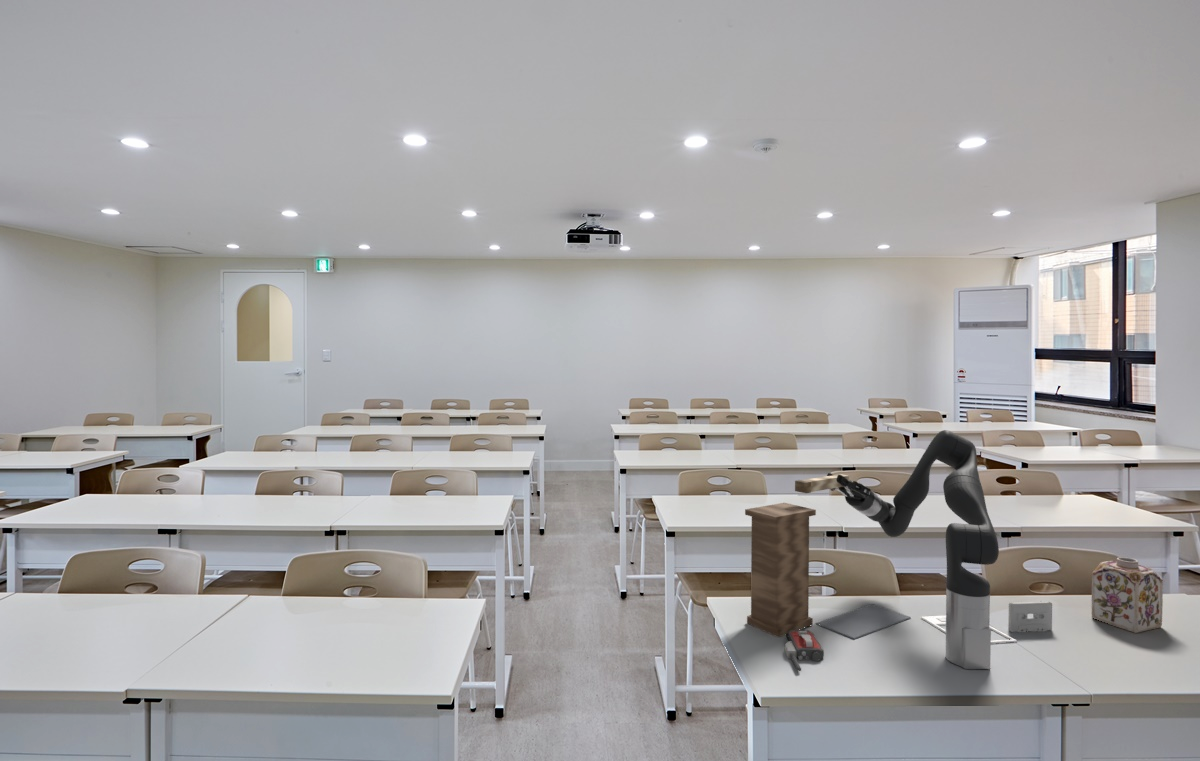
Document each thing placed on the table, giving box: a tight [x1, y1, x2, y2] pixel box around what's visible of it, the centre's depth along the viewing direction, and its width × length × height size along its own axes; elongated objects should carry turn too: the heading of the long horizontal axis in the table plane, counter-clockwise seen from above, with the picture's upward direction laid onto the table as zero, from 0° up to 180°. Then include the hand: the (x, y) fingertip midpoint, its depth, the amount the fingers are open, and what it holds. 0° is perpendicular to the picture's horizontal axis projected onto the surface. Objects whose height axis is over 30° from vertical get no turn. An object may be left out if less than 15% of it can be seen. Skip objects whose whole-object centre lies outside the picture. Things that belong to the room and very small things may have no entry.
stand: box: [744, 502, 817, 638], centre depth 179 cm, size 16×11×32 cm
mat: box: [816, 603, 911, 640], centre depth 181 cm, size 26×12×1 cm, turn 123°
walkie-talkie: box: [784, 629, 825, 672], centre depth 160 cm, size 9×4×20 cm
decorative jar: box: [1091, 556, 1164, 634], centre depth 180 cm, size 12×12×18 cm
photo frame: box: [920, 614, 1018, 645], centre depth 175 cm, size 15×1×18 cm
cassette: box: [1007, 601, 1053, 633], centre depth 175 cm, size 12×2×8 cm, turn 94°
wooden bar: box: [794, 473, 850, 494], centre depth 188 cm, size 20×4×3 cm, turn 124°
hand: (833, 476), depth 191 cm, fingers closed on wooden bar, 3 cm apart
